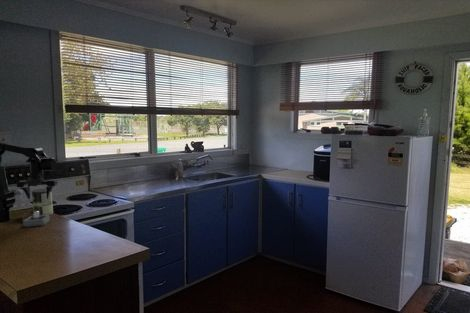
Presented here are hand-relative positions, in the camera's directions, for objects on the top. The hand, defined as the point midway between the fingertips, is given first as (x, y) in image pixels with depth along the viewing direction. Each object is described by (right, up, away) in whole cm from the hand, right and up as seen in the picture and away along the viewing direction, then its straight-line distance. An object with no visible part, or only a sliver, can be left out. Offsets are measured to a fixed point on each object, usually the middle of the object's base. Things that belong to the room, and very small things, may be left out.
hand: (38, 198), depth 187 cm
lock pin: (+2, -12, -5) cm, 13 cm away
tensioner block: (-6, -12, +3) cm, 14 cm away
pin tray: (+2, -12, -5) cm, 14 cm away
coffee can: (-6, -11, +15) cm, 19 cm away
